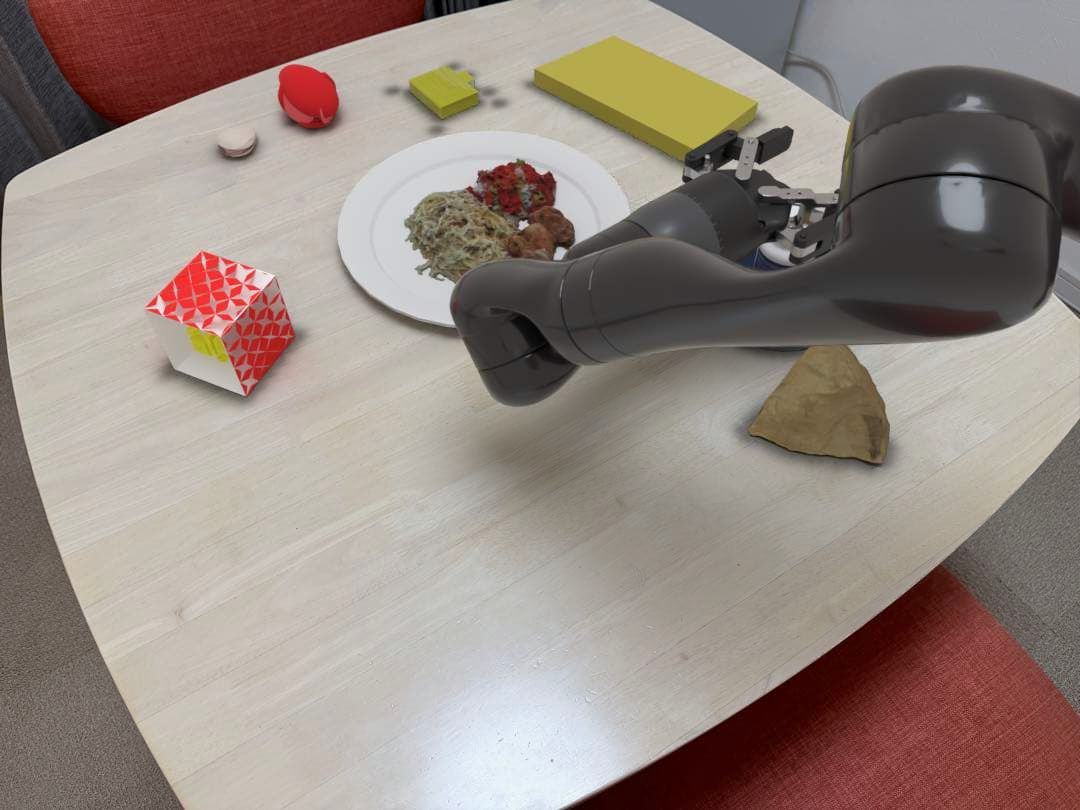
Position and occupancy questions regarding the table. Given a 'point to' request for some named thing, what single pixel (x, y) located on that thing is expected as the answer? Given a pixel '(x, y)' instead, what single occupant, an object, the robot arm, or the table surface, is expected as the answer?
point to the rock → (826, 408)
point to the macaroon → (236, 140)
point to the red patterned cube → (222, 322)
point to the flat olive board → (646, 95)
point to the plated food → (468, 214)
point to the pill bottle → (774, 253)
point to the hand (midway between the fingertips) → (826, 160)
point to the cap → (307, 95)
